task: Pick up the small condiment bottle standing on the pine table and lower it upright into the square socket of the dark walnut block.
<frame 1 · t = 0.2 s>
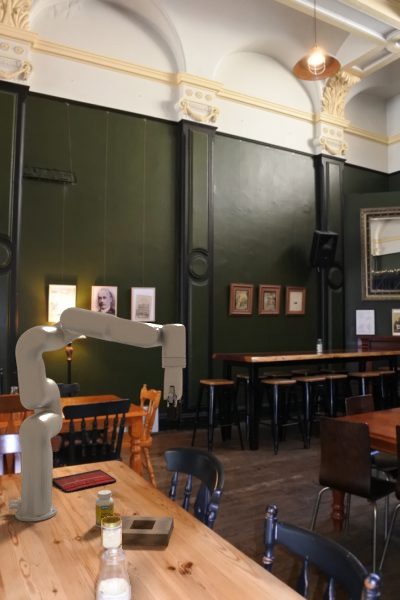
hand: (174, 417, 151), 31 cm above the table, fingers open, 9 cm apart
socket block: (142, 535, 136), on the table
supplement bottle: (104, 525, 144), on the table
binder: (84, 484, 185), on the table
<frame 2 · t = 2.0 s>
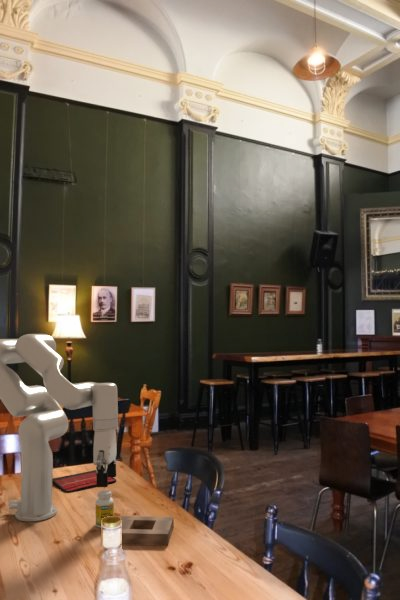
hand: (106, 481, 144), 13 cm above the table, fingers open, 9 cm apart
nothing on the table moved.
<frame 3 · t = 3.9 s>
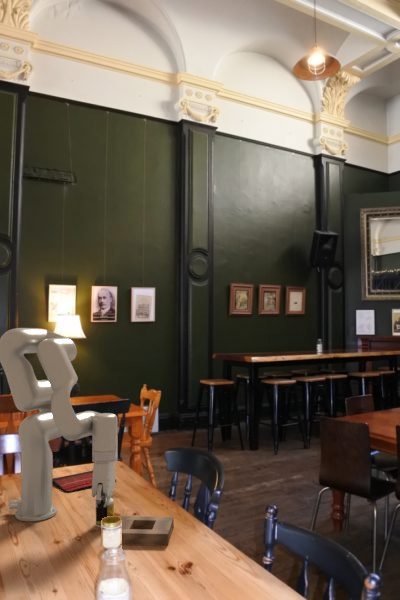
hand: (104, 516, 144), 2 cm above the table, fingers closed on supplement bottle, 5 cm apart
supplement bottle: (104, 525, 144), on the table, touching gripper
everything else where it was.
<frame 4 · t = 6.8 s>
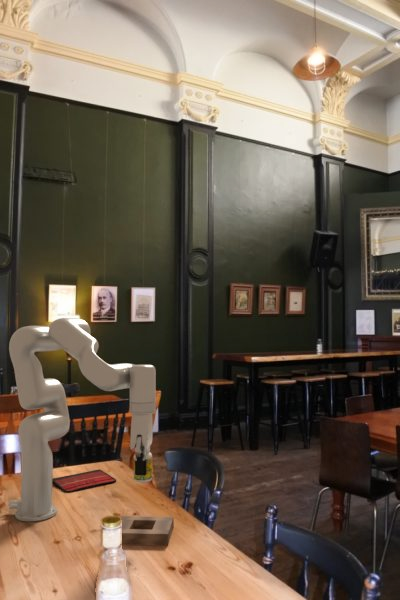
hand: (142, 471, 137), 18 cm above the table, fingers closed on supplement bottle, 5 cm apart
supplement bottle: (143, 480, 137), point 15 cm above the table, touching gripper
everything else where it was.
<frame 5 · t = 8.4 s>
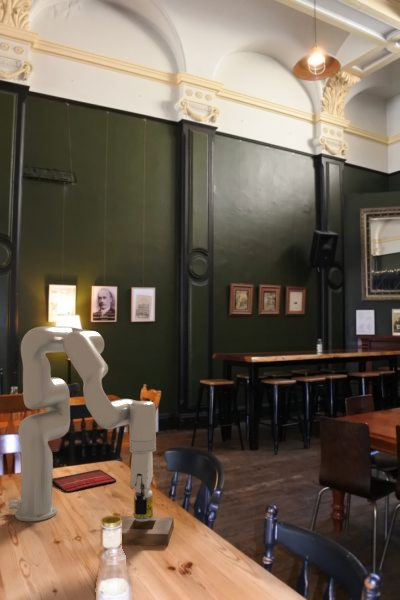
hand: (143, 509, 136), 7 cm above the table, fingers closed on supplement bottle, 5 cm apart
supplement bottle: (143, 519, 136), point 5 cm above the table, touching gripper
everything else where it was.
when the fingers open (4 cm above the table, at t = 9.9 s): supplement bottle drops 2 cm, resting in socket block.
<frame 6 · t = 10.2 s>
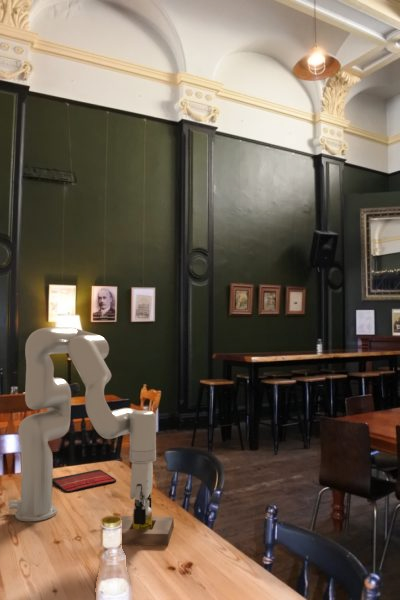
hand: (142, 517, 136), 5 cm above the table, fingers open, 8 cm apart
supplement bottle: (142, 536, 136), resting in socket block
everything else where it was.
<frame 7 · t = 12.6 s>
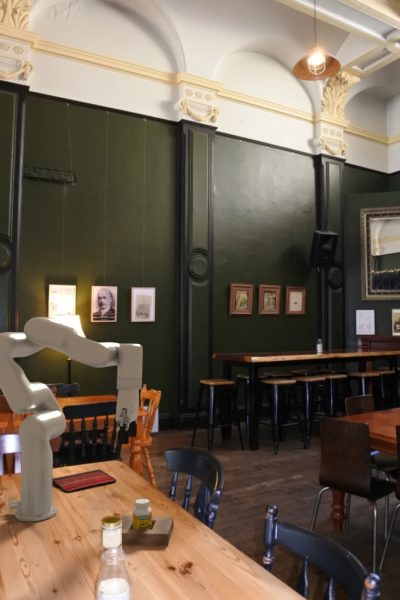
hand: (127, 440, 146), 25 cm above the table, fingers open, 9 cm apart
nothing on the table moved.
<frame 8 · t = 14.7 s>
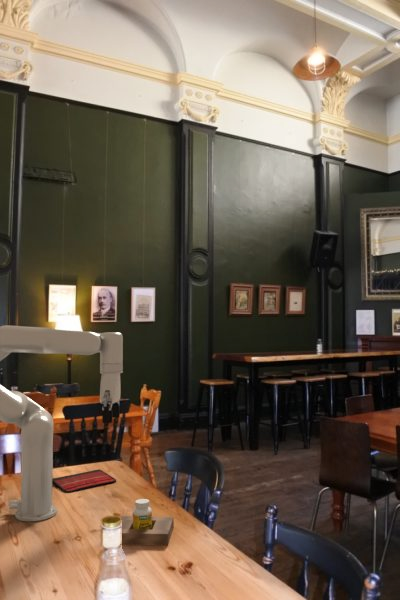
hand: (111, 420, 161), 28 cm above the table, fingers open, 9 cm apart
nothing on the table moved.
at the end: supplement bottle 0.1 cm off-centre on the socket block, point 0.0 cm above the socket block's base; supplement bottle tilted 0°; supplement bottle touching table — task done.
